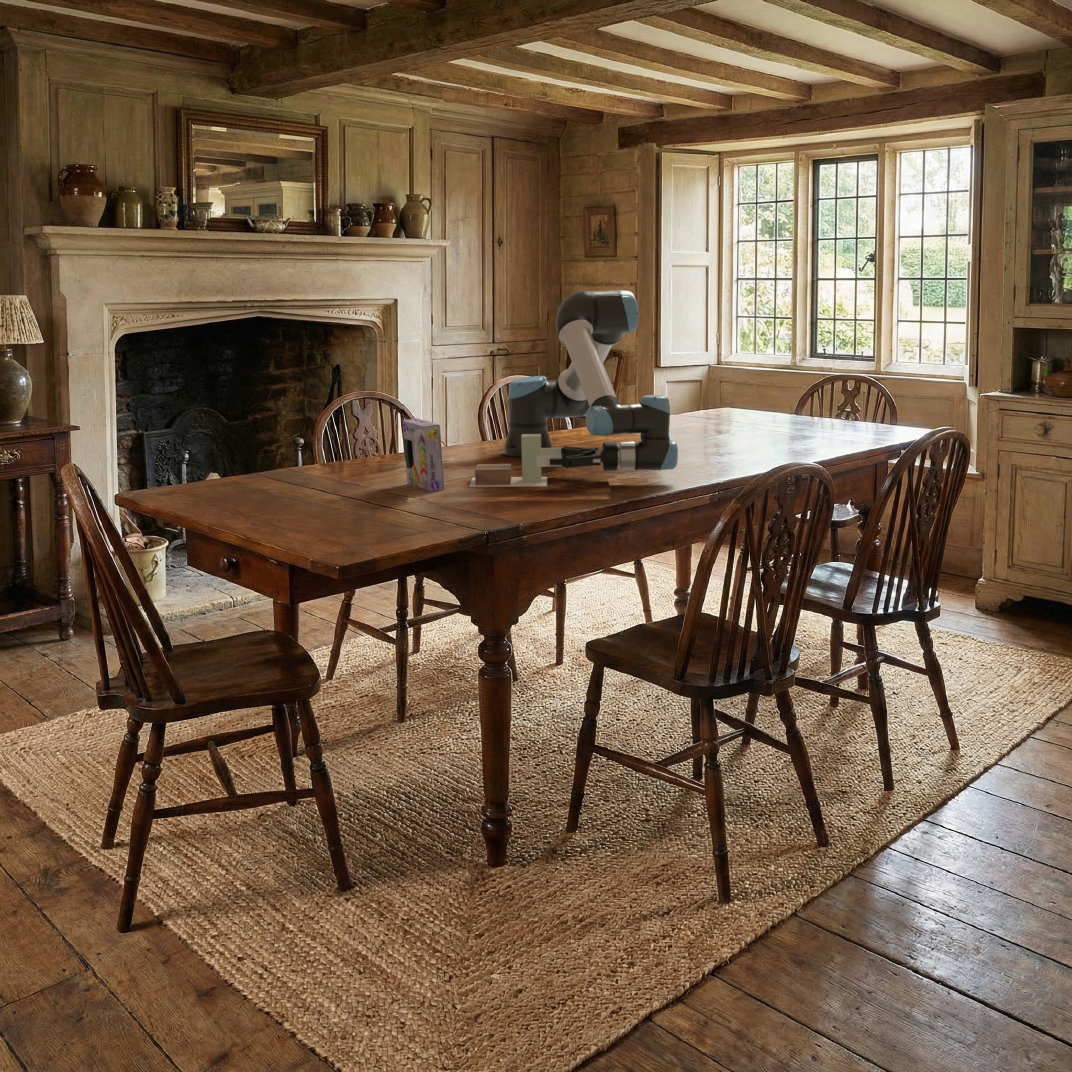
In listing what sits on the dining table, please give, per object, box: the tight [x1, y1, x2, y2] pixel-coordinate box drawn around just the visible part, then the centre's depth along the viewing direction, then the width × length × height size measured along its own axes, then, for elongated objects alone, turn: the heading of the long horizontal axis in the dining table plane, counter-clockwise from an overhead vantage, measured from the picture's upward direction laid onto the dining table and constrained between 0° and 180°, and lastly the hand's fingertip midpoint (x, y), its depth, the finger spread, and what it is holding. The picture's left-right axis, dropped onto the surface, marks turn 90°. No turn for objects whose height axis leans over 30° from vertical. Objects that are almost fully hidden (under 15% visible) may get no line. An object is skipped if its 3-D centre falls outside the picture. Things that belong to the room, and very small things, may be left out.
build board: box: [468, 476, 548, 488], centre depth 305 cm, size 14×20×1 cm
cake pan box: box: [402, 417, 445, 492], centre depth 301 cm, size 19×5×18 cm, turn 24°
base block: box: [474, 463, 512, 485], centre depth 304 cm, size 9×9×4 cm
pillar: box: [521, 434, 542, 483], centre depth 304 cm, size 5×5×12 cm
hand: (536, 457), depth 304 cm, fingers open, 13 cm apart
